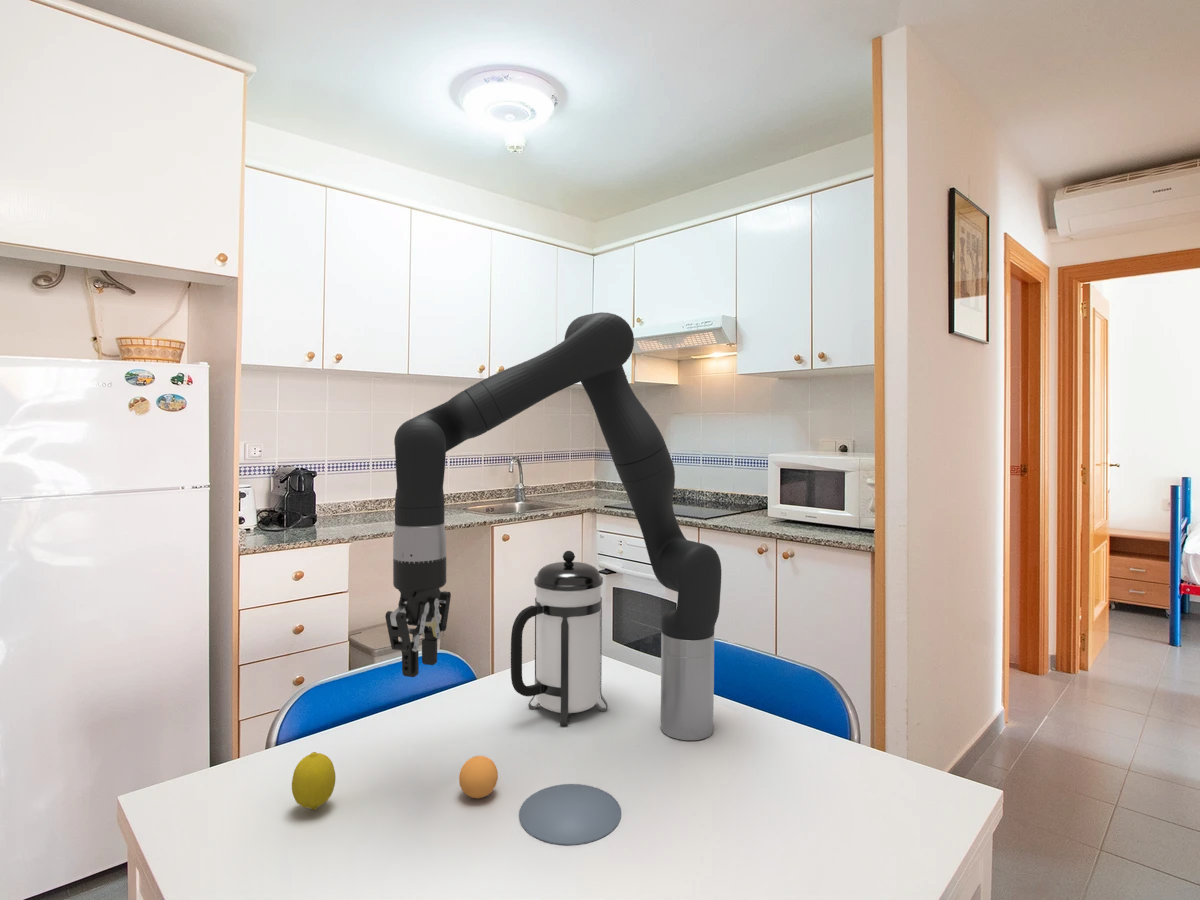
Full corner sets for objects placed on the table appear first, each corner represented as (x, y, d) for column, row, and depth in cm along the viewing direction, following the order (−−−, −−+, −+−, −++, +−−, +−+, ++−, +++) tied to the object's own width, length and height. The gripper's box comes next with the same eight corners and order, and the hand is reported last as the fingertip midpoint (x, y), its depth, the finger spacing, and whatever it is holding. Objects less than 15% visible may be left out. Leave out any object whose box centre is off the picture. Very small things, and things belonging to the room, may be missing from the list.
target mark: (542, 778, 99) (542, 777, 99) (632, 794, 95) (632, 793, 95) (501, 833, 86) (501, 831, 86) (604, 854, 82) (604, 852, 82)
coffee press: (533, 690, 132) (533, 542, 131) (612, 695, 130) (613, 545, 129) (509, 729, 115) (509, 559, 114) (600, 736, 113) (601, 562, 112)
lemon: (319, 823, 88) (319, 764, 87) (283, 818, 89) (282, 760, 89) (343, 800, 93) (343, 745, 93) (308, 796, 94) (308, 741, 94)
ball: (470, 782, 98) (470, 746, 98) (504, 788, 96) (504, 751, 96) (451, 802, 93) (451, 764, 93) (487, 809, 91) (487, 770, 91)
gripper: (414, 565, 88) (415, 691, 89) (466, 547, 102) (466, 656, 103) (367, 562, 91) (367, 684, 91) (424, 544, 104) (424, 651, 105)
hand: (420, 669), depth 97 cm, fingers open, 4 cm apart
